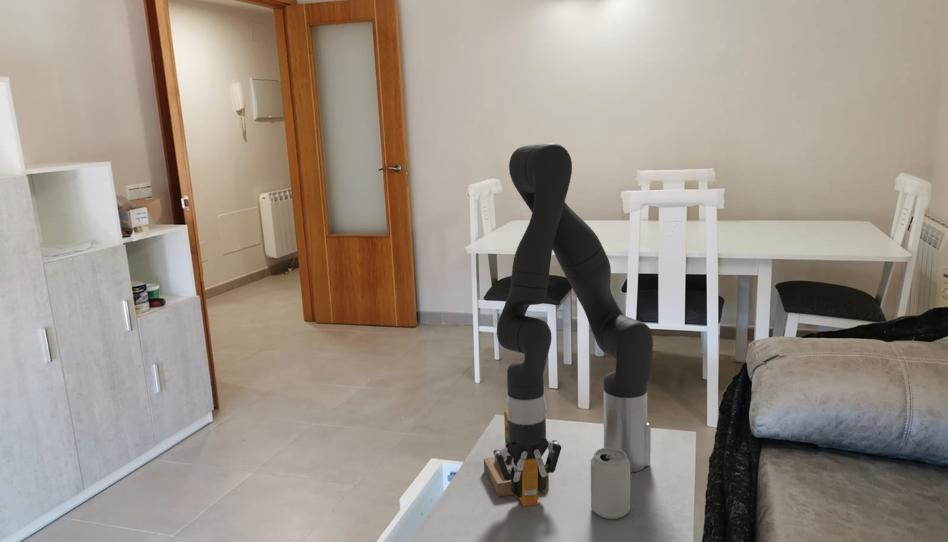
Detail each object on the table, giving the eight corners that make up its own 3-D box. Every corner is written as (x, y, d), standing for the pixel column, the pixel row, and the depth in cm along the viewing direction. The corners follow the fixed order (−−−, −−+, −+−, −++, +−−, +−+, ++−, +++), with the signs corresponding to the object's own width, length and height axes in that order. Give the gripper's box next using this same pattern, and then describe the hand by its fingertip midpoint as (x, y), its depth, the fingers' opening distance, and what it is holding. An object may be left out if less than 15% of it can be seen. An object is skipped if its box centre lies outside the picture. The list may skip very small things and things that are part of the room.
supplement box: (539, 504, 135) (538, 458, 133) (522, 507, 135) (521, 461, 133) (535, 495, 139) (533, 451, 136) (518, 498, 138) (517, 453, 136)
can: (588, 500, 136) (588, 445, 133) (626, 499, 136) (626, 444, 133) (593, 522, 129) (593, 464, 126) (633, 521, 128) (634, 463, 126)
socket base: (531, 463, 152) (531, 444, 151) (548, 487, 141) (548, 468, 140) (484, 471, 149) (483, 452, 148) (498, 497, 139) (497, 477, 138)
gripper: (553, 402, 138) (555, 478, 142) (486, 412, 135) (489, 490, 138) (567, 417, 131) (569, 497, 134) (496, 428, 127) (499, 510, 131)
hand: (528, 493), depth 136 cm, fingers open, 4 cm apart
